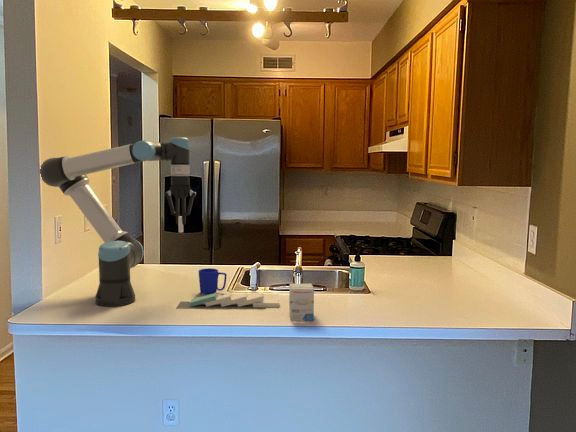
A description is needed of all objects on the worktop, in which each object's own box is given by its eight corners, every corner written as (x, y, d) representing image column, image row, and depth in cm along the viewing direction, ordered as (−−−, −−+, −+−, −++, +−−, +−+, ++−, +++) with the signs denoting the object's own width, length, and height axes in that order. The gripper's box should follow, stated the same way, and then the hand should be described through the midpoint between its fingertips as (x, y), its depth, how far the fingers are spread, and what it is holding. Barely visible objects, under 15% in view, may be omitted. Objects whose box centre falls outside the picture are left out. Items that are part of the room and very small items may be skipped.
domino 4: (253, 302, 198) (279, 303, 198) (253, 299, 203) (279, 299, 203) (253, 307, 198) (279, 307, 198) (253, 303, 203) (279, 303, 203)
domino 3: (237, 303, 198) (262, 296, 198) (238, 299, 203) (262, 292, 203) (238, 307, 198) (263, 300, 198) (239, 303, 203) (263, 296, 203)
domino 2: (220, 302, 198) (246, 296, 198) (222, 299, 203) (246, 293, 203) (221, 306, 198) (247, 300, 198) (223, 303, 203) (247, 297, 203)
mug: (223, 297, 214) (223, 273, 213) (195, 295, 216) (195, 271, 215) (229, 292, 222) (229, 269, 221) (202, 290, 224) (202, 267, 223)
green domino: (189, 302, 198) (214, 295, 197) (191, 299, 202) (216, 292, 202) (190, 306, 198) (216, 299, 198) (193, 303, 203) (217, 296, 203)
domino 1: (205, 302, 198) (230, 296, 198) (206, 299, 203) (231, 292, 203) (206, 306, 198) (231, 300, 198) (207, 303, 203) (232, 296, 203)
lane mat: (175, 309, 195) (175, 308, 195) (180, 302, 205) (180, 301, 205) (265, 309, 196) (265, 308, 196) (266, 302, 206) (266, 301, 206)
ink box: (311, 313, 192) (312, 283, 190) (313, 320, 183) (314, 288, 182) (288, 313, 191) (289, 283, 190) (289, 320, 183) (290, 288, 182)
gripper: (162, 175, 209) (163, 233, 211) (194, 175, 209) (195, 233, 212) (166, 175, 216) (167, 230, 219) (197, 175, 217) (198, 231, 219)
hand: (180, 232), depth 215 cm, fingers closed
